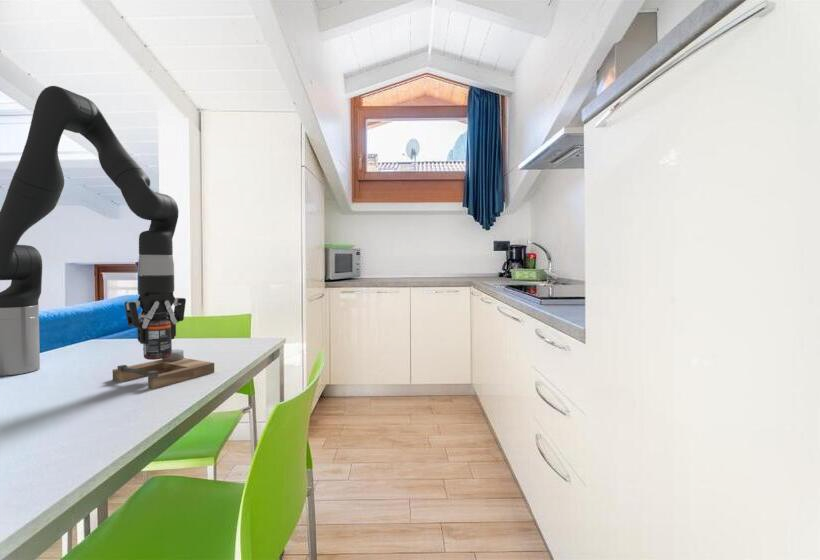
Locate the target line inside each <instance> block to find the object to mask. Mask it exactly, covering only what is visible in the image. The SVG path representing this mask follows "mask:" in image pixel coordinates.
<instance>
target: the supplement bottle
mask: <svg viewBox="0 0 820 560" xmlns="http://www.w3.org/2000/svg"><path fill="white" fill-rule="evenodd" d="M166 317H167V315H166V312H160V313H154V315H153V318H152V319H151V320H150V321H149V324H148V326H147V328H148V344H142V346H143V347H142V349H143V358H144V359H145V360H148V361H149V360H150V361H151V360H152V361H156V360H161V359H163V358H167V357H169V356H171V354H172V350H173V348H172V346H173V345H172V340H173V339H171V322H170V321H169V320H168V319H167V318H166Z"/></svg>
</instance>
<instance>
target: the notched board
mask: <svg viewBox="0 0 820 560" xmlns="http://www.w3.org/2000/svg"><path fill="white" fill-rule="evenodd" d="M111 373H112V381H117V382H120V383H121V382H122V383H124V382H127V381H131V380H135V379H140V378H145V377H147V388H148V389H153V390H154V389H155V390H156V389H157V388H162V387H165V386H169V385H172V384H176V383H181V382H184V381H187V380H191V379H194V378H198V377H201V376H205V375H210V374H212V373H213V374H214V373H215V362H211V361H206V360H199V359H193V358H187V357H184V358H183V359H182V360H179V361H172V362H165V361H163V360H162V359H156V360H152V361H151V360H150V361H146V362H143V363H139V364H133V365H129V366H128V365H127V364H121V365H117V368H114V369H112V372H111Z"/></svg>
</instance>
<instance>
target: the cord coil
mask: <svg viewBox="0 0 820 560" xmlns="http://www.w3.org/2000/svg"><path fill="white" fill-rule="evenodd" d="M184 356H185V355H184V350H183V349H180V348H179V349H172V354H171V356H169V357H167V358H163V359H162V360H163V361H165V362H172V361H179V360H182V359H183V358H185V357H184Z"/></svg>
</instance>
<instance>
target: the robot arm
mask: <svg viewBox="0 0 820 560" xmlns="http://www.w3.org/2000/svg"><path fill="white" fill-rule="evenodd" d="M64 131H68V132H72V133H75V134H80V135H81V136H83V138H85V139H86V140H87V141H89V142H90V143H91V144H92V146H93V147H94V148H95V149H96V151H97V155H98V156H97V157H98V161H99V165H100V167H101V168H102V170H103V172H104V173H105V174H106V176H107V177H108V178H109V179H110V180H111V181H112V183H114V184H115V186H116V187H117V188H118V189H119V190H120V192H121V195H122V196H123V199H124V201H125V203H126V205H127V207H128V208H129V209H130V211H131V212H132V213H133V214H135V216H137V217H138V218H140V219H142V220H145V221H150V224H149V227H148V228H149V229H148V230H144V231H142V232H140V234H139V235H138V236H139V237H138V261H137V285H138V286H137V288H138V289H137V291H138V293H139V294H138V295H139V296H138V297H137V300H134V301H125V302H124V309H125V310H124V311H125V315H126V320H127V325H128V327H133V328H136V329H137V341H138V342H139V343H140V344H141V345H143V344H148V328H147V326H148V324H149V321H150V320H151V319H152V318H153V315H154V313H160V312H166V315H167V317H166V318H167V319H168V320H169V321H170V322H171V340H174V339H175V337H176V336H177V324H178V323H179V322H182V321H184V317H185V312H186V311H185V310H186V304H187V303H186V301H187V300H186V298H185V297H175V296H174V293H175V264H174V263H175V262H174V256H173V254H174V253H173V252H174V251H173V248H174V247H173V244H174V243H173V238H174V235H175V232H176V227H177V224H178V219H179V206H178V203H177V201H176V200H175V199H174V198H173V197H172V196H170V195H168V194H165V193H162V192H158V191H154V190H153V189H151V187H150V186H151V179H150V177H149V175H148V174H147V173H146V171H144V169H143V168H142V167H141V166H140V165H139V164H138V162H137V161H136V159H134V158H133V157H132V156H131V154H129V153H128V151H127V150H126V148H125V147H124V146H123V144H122V143H121V142H120V140H119V139H118V137H117V136H116V134H115V132H114V131H113V129H112V128H111V126H110V125H109V123H108V121H107V119H106V118H105V116H104V115H103V113H102V112H101V110H100V109H99V107H98V106H97V105H96V104H95V103H94V101H92V100H90V99H89V98H87V97H85V96H83V95H80V94H77V93H75V92H73V91H71V90H68V89H66V88H63V87H61V86H57V85H50V86H47V87H45V88H43V89H42V90H41V91H40V93H39V95H38V97H37V99H36V102H35V105H34V109H33V113H32V117H31V121H30V126H29V131H28V133H27V134H28V135H27V138H26V142H25V145H24V147H23V150H22V153H21V156H20V159H19V161H18V164H17V167H16V169H15V171H14V173H13V176H12V179H11V181H10V183H9V186H8V189H7V193H6V196H5V199H4V201H3V203H2V206H1V209H0V281H11V282H10V285H8V287H7V288H5V289H4V290H2V291H0V376H13V375H21V374H27V373H30V372H35V371H37V370H39V369H41V362H40V361H41V353H40V351H41V350H40V349H41V348H40V315H39V314H40V312H39V311H40V310H39V299H40V297H41V293H42V282H43V281H42V279H43V259H42V255H41V253H40V251H39V250H38V249H37V247H34V246H33V245H28V244H27V245H26V244H18V242H19V241H20V239H21V238H22V237H23V235H24V234H25V233H26V232H27V231H28V230H29V229H31V227H33V226H34V225H36V224H37V223H38V222H39V221H41V220H42V219H43V218H44V219H45V217H46V216H48V215H49V214H51V213H52V211H53V210H54V209H55V208H56V207H57V205H58V203H59V200H60V197H61V195H62V192H63V190H64V187H65V177H64V176H65V175H64V173H63V171H64V170H63V168H62V166H61V161H60V159H59V150H58V149H59V144H60V141H61V138H62V135H63V134H64ZM173 305H174V309H173V308H172V307H173ZM140 308H141V309H140ZM138 309H140V313H138Z"/></svg>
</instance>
